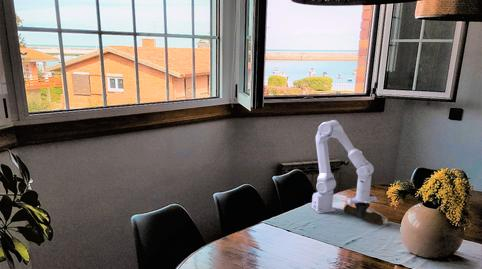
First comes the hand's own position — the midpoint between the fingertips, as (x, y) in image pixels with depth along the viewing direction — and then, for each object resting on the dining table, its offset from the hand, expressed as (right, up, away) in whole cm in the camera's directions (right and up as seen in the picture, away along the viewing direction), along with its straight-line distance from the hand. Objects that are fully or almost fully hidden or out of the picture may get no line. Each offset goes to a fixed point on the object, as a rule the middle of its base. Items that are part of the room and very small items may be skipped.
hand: (360, 217), depth 165 cm
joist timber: (+8, -1, +3) cm, 9 cm away
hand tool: (+3, -1, +3) cm, 4 cm away
